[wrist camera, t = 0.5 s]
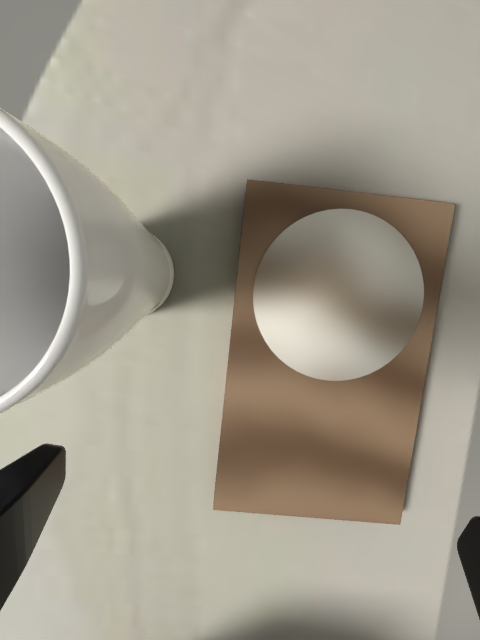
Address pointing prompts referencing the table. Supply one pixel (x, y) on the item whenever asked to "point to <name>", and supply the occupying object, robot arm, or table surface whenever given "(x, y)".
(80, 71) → the table surface
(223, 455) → the walnut board
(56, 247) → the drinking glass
